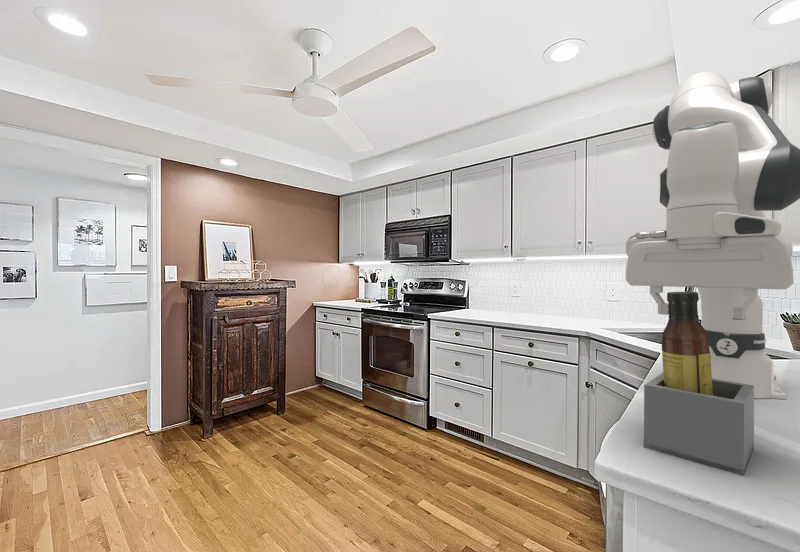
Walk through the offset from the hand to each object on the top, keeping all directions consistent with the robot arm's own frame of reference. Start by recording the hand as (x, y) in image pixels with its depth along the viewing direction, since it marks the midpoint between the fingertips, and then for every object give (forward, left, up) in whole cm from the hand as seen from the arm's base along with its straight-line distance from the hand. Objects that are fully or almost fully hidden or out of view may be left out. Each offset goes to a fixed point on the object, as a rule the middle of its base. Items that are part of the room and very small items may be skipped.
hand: (699, 316), depth 59 cm
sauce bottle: (0, -1, -16) cm, 16 cm away
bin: (0, 0, -21) cm, 21 cm away
